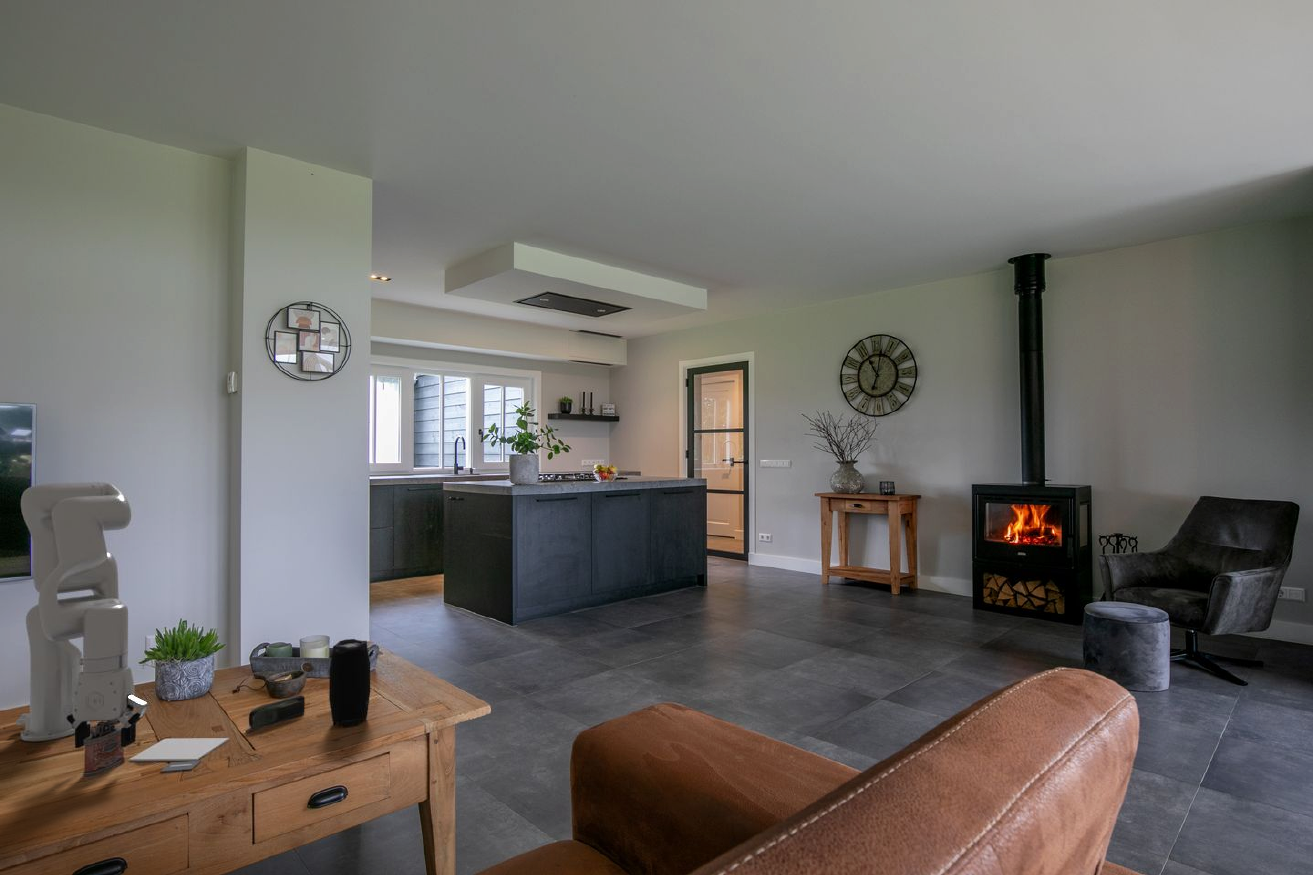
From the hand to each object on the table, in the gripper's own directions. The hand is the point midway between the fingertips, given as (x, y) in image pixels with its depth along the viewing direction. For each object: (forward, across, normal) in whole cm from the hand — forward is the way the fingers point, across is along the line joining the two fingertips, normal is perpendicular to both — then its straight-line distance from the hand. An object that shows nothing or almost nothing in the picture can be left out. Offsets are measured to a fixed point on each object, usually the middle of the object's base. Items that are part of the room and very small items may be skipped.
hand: (105, 744), depth 146 cm
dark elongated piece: (+6, +22, +26) cm, 34 cm away
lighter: (+5, 0, 0) cm, 5 cm away
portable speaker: (+6, +40, +25) cm, 48 cm away
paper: (+5, +10, +9) cm, 14 cm away
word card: (+5, +16, +1) cm, 16 cm away
